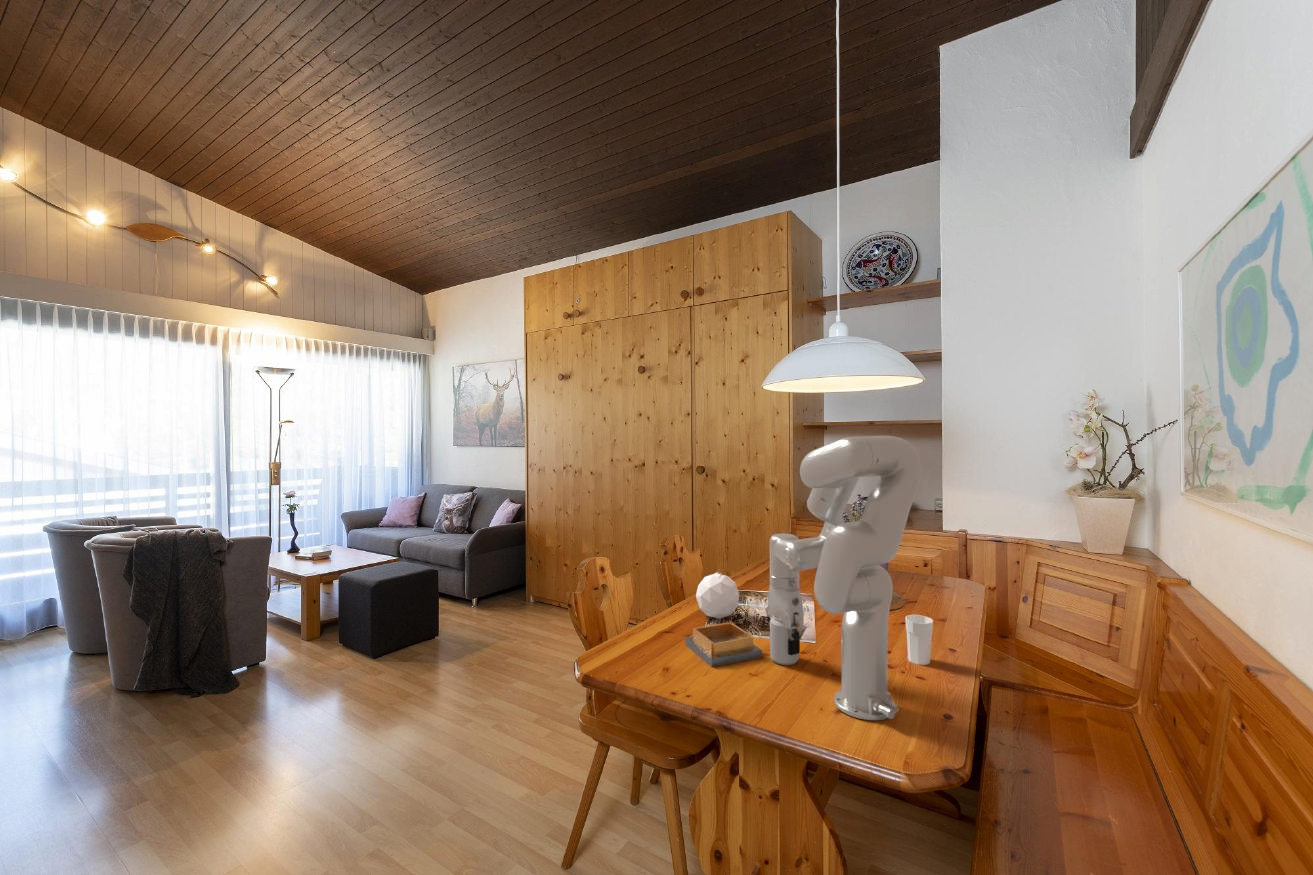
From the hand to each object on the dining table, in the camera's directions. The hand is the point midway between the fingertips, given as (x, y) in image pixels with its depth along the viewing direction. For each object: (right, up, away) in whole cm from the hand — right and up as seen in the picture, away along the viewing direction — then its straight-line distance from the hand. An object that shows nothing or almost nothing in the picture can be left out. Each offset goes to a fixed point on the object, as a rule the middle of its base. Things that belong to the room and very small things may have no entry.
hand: (784, 647), depth 149 cm
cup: (+35, -3, -1) cm, 35 cm away
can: (0, -4, 0) cm, 4 cm away
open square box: (-16, -3, +7) cm, 17 cm away
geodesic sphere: (-14, -3, +34) cm, 37 cm away
